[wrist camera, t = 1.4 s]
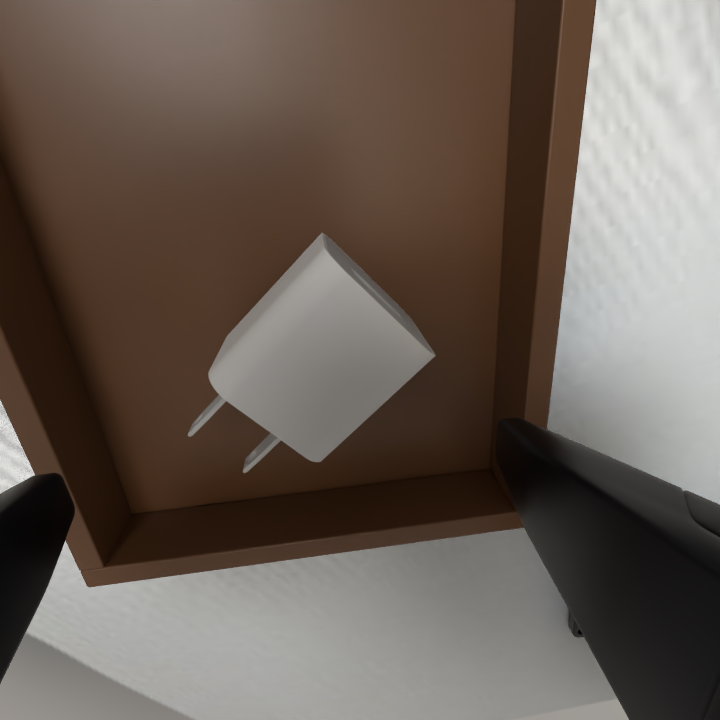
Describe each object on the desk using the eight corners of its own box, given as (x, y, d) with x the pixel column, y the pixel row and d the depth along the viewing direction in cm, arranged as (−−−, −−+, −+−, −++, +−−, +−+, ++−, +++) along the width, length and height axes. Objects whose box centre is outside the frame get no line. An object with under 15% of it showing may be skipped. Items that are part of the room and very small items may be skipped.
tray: (503, 475, 18) (536, 526, 16) (121, 524, 17) (87, 588, 15) (551, -188, 10) (633, -311, 8) (-147, -167, 9) (-327, -301, 7)
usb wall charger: (409, 315, 15) (441, 363, 11) (273, 447, 16) (262, 527, 12) (321, 229, 13) (324, 252, 10) (181, 382, 15) (139, 452, 11)
